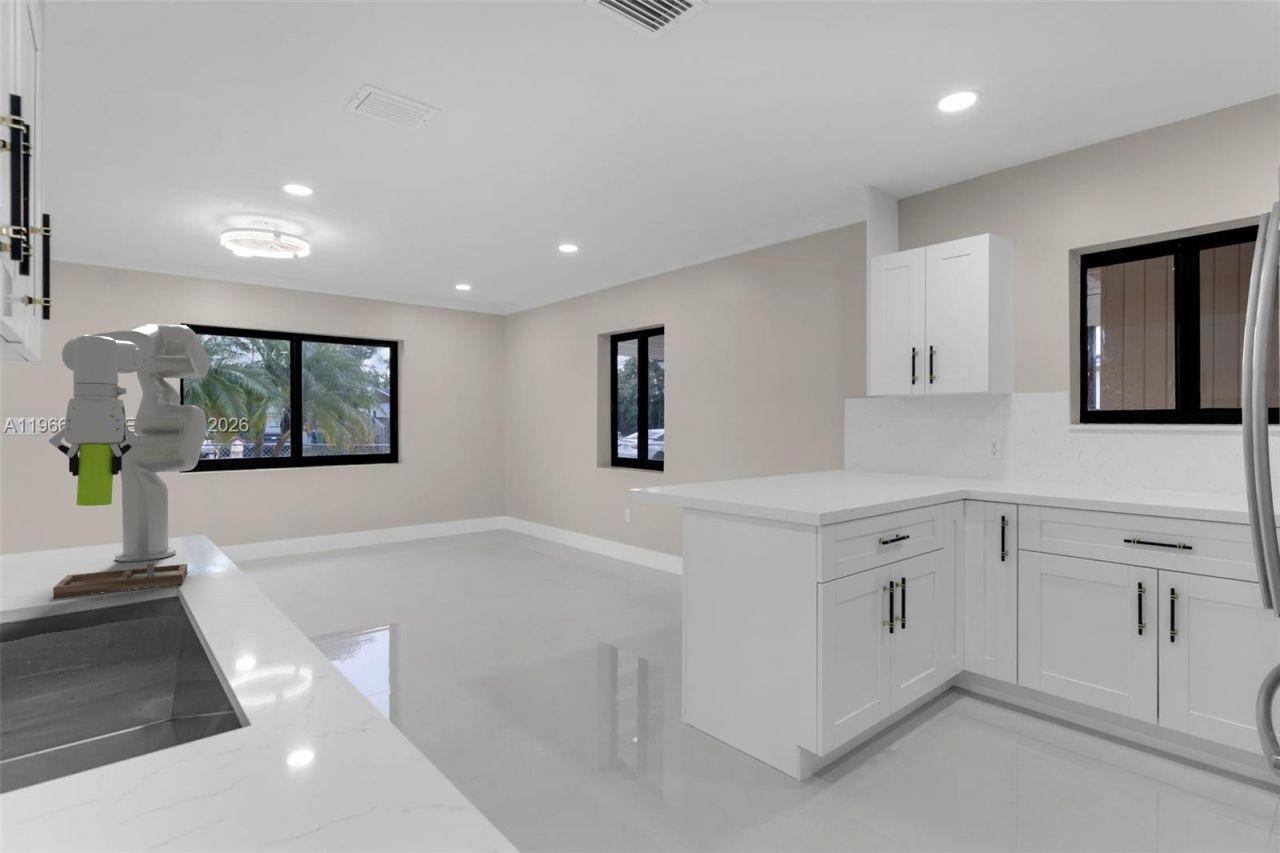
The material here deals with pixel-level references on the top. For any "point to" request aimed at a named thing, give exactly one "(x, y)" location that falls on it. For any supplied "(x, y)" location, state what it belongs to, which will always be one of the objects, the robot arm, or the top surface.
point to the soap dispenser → (95, 474)
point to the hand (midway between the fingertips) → (96, 474)
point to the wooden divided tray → (120, 580)
